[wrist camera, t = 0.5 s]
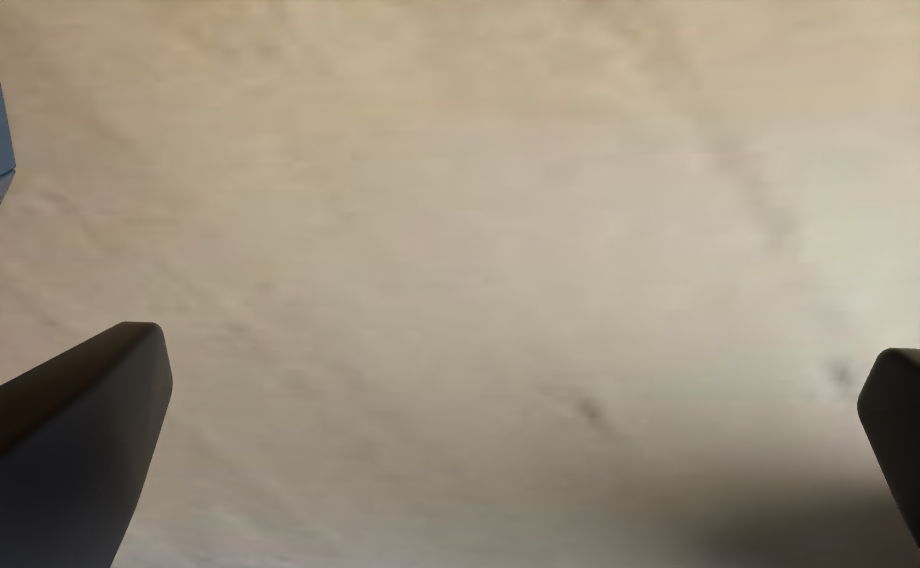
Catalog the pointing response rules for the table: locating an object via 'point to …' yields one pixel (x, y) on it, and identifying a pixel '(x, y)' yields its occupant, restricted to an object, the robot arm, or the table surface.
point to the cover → (5, 151)
